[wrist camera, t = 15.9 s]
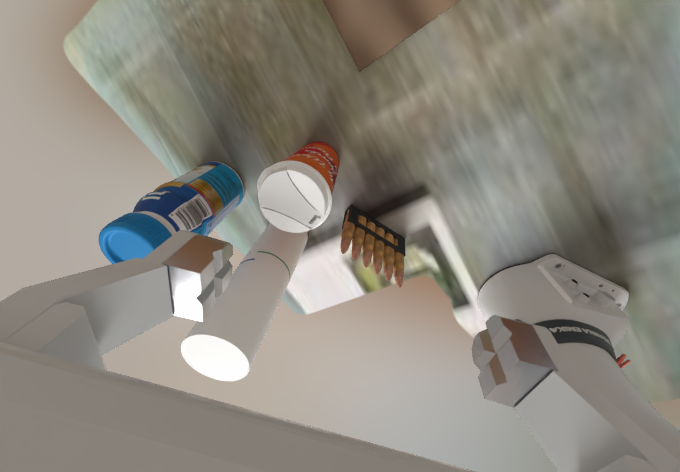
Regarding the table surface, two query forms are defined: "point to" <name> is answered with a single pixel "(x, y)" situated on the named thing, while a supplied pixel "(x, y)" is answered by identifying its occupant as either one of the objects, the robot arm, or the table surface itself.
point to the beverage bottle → (174, 212)
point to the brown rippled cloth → (380, 23)
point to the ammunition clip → (373, 243)
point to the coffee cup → (299, 188)
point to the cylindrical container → (244, 308)
